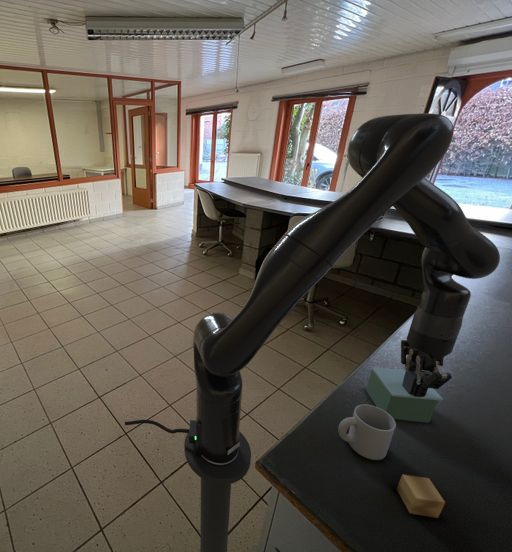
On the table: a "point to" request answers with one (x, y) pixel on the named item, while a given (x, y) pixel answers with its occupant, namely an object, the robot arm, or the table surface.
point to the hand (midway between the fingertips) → (413, 389)
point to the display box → (399, 403)
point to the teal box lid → (403, 383)
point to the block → (420, 496)
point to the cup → (368, 431)
